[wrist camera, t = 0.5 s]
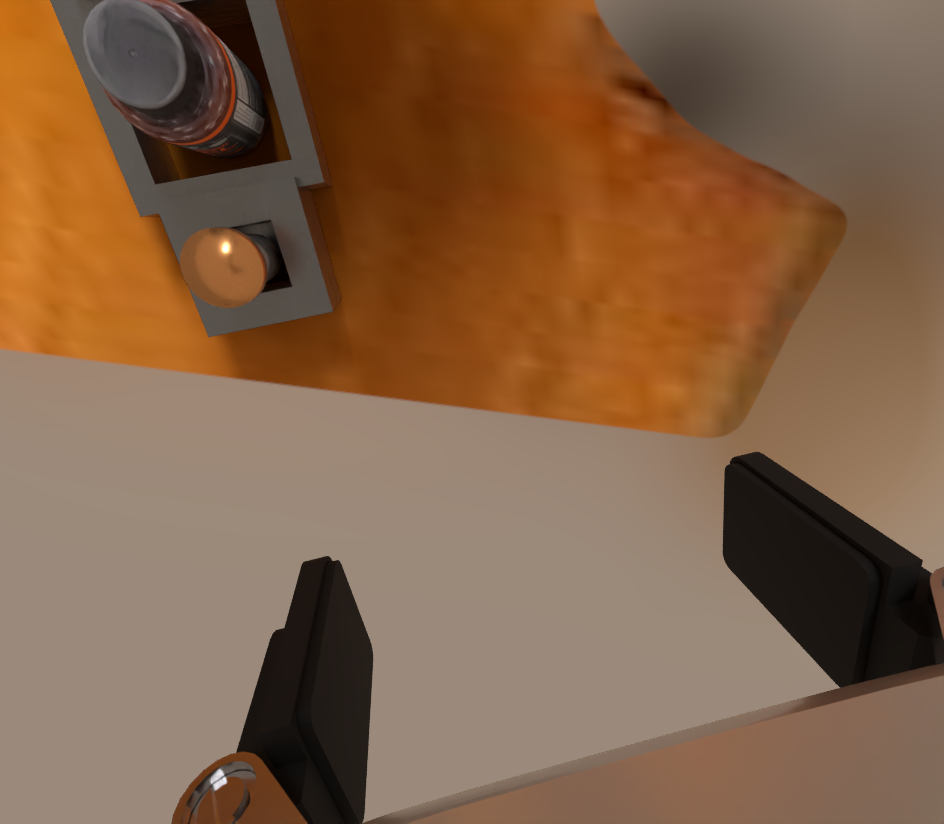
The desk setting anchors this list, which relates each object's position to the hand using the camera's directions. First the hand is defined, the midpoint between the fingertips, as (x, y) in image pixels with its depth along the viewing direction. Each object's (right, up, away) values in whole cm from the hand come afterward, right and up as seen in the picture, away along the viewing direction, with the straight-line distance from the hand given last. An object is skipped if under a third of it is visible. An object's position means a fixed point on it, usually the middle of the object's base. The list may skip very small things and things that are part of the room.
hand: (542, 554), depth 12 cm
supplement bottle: (-18, +23, +20) cm, 35 cm away
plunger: (-15, +13, +20) cm, 28 cm away
